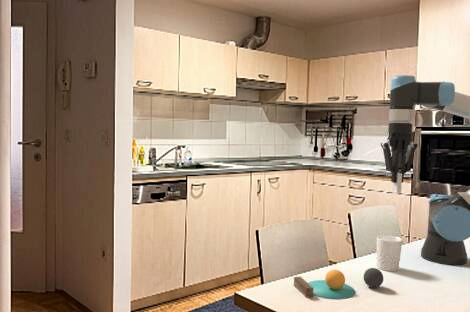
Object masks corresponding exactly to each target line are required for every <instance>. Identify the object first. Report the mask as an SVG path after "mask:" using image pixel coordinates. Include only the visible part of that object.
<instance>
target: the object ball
mask: <svg viewBox="0 0 470 312" xmlns="http://www.w3.org/2000/svg"><path fill="white" fill-rule="evenodd" d="M324 278H325V279H324V280H325V281H326V284H327V286H328V287H329V288H331V289H334V290H338V289H340V288H342V287H343V286H344V284H346V277H345V274H344V272H342V271H341V270H338V269H330V270H329V271H328V272H327V273H326V274H325V277H324Z"/></svg>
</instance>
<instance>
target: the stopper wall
mask: <svg viewBox="0 0 470 312" xmlns="http://www.w3.org/2000/svg"><path fill="white" fill-rule="evenodd" d="M293 287H295V288H296V289H297V290H298V291H299V292H300V293H301V294H302V295H303V296H304V297H305V298H313V297H314V295H313V287H312V286H311V285H310V284H308V282H307V280H305V279H304V278H303V277H302V276H294V277H293Z"/></svg>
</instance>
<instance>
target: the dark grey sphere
mask: <svg viewBox="0 0 470 312" xmlns="http://www.w3.org/2000/svg"><path fill="white" fill-rule="evenodd" d="M363 281H364V283H365V284H366V285H367V287H369V288H372V289H373V288H374V289H375V288H379V287H380V286H382V284H383V282H384V274H383V273H382V270H381V269H379V268H376V267H371V268H368V269H366V270H365V271H364V273H363Z"/></svg>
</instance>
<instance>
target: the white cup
mask: <svg viewBox="0 0 470 312" xmlns="http://www.w3.org/2000/svg"><path fill="white" fill-rule="evenodd" d="M402 246H403V239H402V238H401V237H397V236H394V235H377V236H376V267H377V268H376V269H378V270H380V271H386V272H397V271H398V270H399V269H400V262H401V261H400V260H401V253H402Z"/></svg>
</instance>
